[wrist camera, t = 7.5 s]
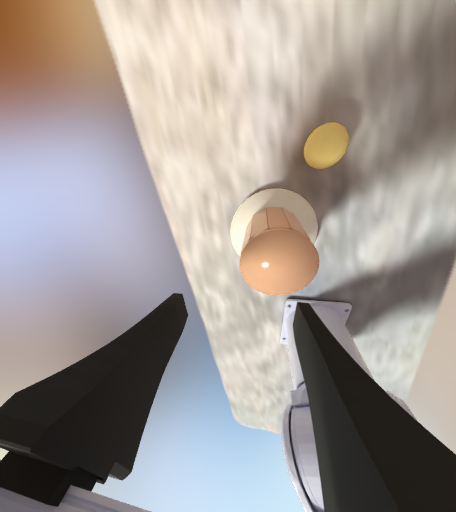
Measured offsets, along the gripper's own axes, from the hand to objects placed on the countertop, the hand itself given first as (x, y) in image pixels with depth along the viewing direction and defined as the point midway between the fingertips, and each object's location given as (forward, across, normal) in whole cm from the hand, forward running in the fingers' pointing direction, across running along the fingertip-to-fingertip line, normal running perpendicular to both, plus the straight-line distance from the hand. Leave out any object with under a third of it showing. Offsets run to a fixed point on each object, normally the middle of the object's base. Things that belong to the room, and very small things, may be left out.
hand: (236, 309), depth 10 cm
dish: (+10, -3, -1) cm, 11 cm away
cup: (+10, -3, -1) cm, 10 cm away
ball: (+10, -6, -9) cm, 15 cm away
